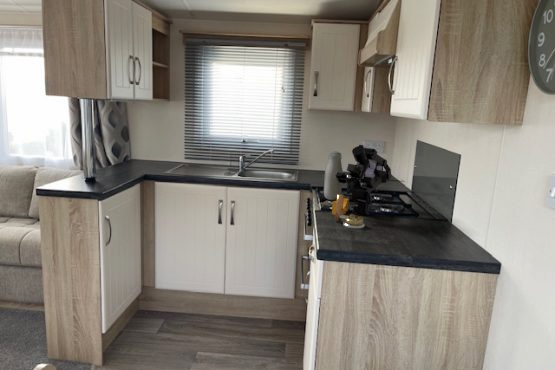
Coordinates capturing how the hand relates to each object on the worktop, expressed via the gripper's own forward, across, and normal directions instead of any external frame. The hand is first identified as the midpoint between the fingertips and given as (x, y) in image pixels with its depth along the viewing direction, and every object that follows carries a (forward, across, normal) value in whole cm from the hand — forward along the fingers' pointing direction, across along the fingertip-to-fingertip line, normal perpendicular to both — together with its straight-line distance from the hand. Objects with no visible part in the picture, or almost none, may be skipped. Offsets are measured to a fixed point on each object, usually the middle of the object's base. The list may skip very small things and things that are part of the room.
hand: (347, 193), depth 188 cm
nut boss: (+13, +8, +4) cm, 16 cm away
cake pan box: (-74, -45, +92) cm, 126 cm away
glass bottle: (-13, -26, +31) cm, 42 cm away
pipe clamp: (+2, -8, +16) cm, 18 cm away
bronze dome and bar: (+13, +5, +4) cm, 14 cm away
